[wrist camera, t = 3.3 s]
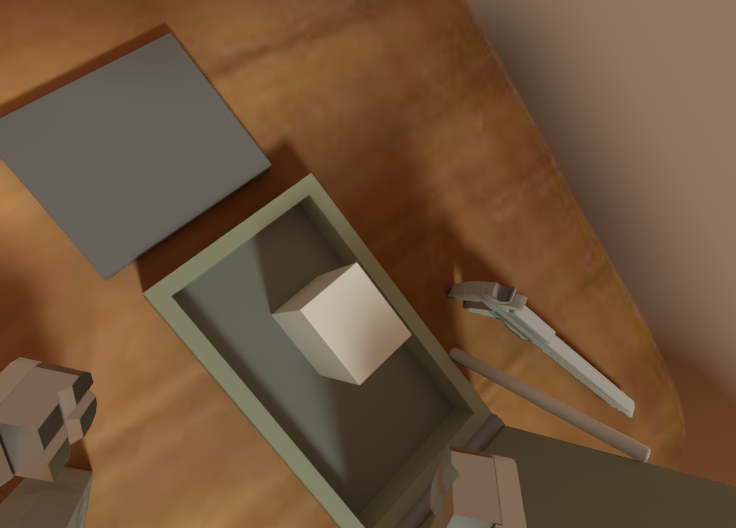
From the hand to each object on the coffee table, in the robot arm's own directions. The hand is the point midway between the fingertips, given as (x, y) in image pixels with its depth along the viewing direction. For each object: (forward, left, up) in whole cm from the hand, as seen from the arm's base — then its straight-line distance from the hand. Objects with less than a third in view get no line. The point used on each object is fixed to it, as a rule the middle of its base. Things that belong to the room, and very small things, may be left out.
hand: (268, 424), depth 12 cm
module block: (+7, -3, -20) cm, 22 cm away
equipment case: (+7, -6, -21) cm, 22 cm away
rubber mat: (+5, +12, -21) cm, 25 cm away
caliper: (+20, -17, -21) cm, 34 cm away
